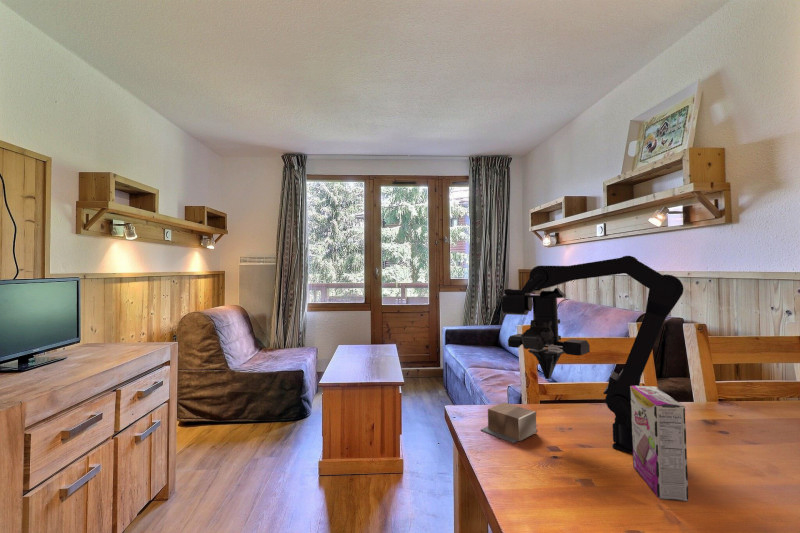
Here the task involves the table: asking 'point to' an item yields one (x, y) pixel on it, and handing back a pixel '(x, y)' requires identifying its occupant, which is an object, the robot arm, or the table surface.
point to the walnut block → (512, 421)
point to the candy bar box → (659, 442)
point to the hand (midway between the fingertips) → (547, 378)
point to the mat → (499, 435)
